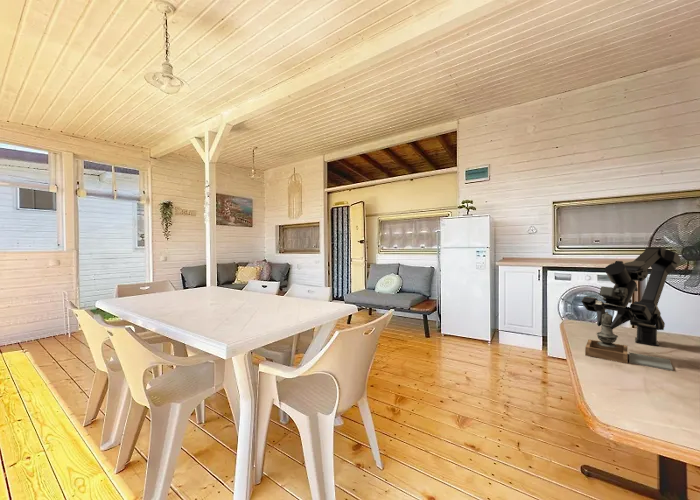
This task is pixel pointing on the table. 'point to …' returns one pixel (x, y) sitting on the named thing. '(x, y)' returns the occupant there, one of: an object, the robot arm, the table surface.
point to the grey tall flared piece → (606, 332)
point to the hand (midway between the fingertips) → (604, 326)
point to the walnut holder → (606, 351)
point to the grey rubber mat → (650, 361)
